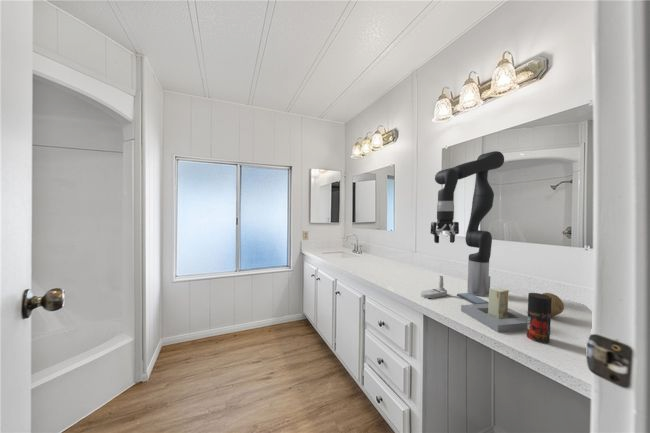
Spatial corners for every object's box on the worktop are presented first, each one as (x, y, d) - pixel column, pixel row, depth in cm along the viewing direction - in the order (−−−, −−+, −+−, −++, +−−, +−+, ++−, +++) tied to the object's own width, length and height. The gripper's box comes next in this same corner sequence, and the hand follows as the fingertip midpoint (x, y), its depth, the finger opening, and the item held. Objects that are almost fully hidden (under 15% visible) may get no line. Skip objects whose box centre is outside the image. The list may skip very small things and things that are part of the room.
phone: (468, 294, 124) (469, 292, 124) (490, 305, 111) (490, 302, 111) (456, 295, 123) (457, 293, 123) (477, 305, 110) (477, 303, 110)
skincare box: (498, 322, 94) (500, 292, 94) (487, 318, 98) (488, 288, 98) (508, 319, 97) (509, 289, 96) (496, 315, 101) (497, 286, 100)
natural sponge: (566, 324, 93) (568, 299, 93) (536, 318, 98) (537, 294, 98) (559, 315, 101) (560, 292, 101) (532, 310, 106) (533, 288, 105)
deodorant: (522, 334, 85) (523, 292, 85) (537, 333, 86) (539, 292, 85) (538, 343, 80) (540, 299, 79) (554, 343, 80) (556, 299, 80)
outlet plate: (496, 308, 108) (496, 302, 108) (538, 328, 90) (538, 321, 90) (461, 310, 105) (461, 305, 104) (497, 332, 87) (497, 325, 87)
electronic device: (418, 277, 122) (441, 274, 127) (418, 296, 123) (440, 292, 128) (426, 280, 117) (449, 277, 122) (426, 300, 118) (449, 295, 123)
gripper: (452, 210, 124) (451, 241, 125) (427, 210, 121) (427, 242, 122) (463, 210, 117) (462, 243, 117) (437, 210, 114) (436, 244, 114)
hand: (444, 242), depth 120 cm, fingers open, 8 cm apart
